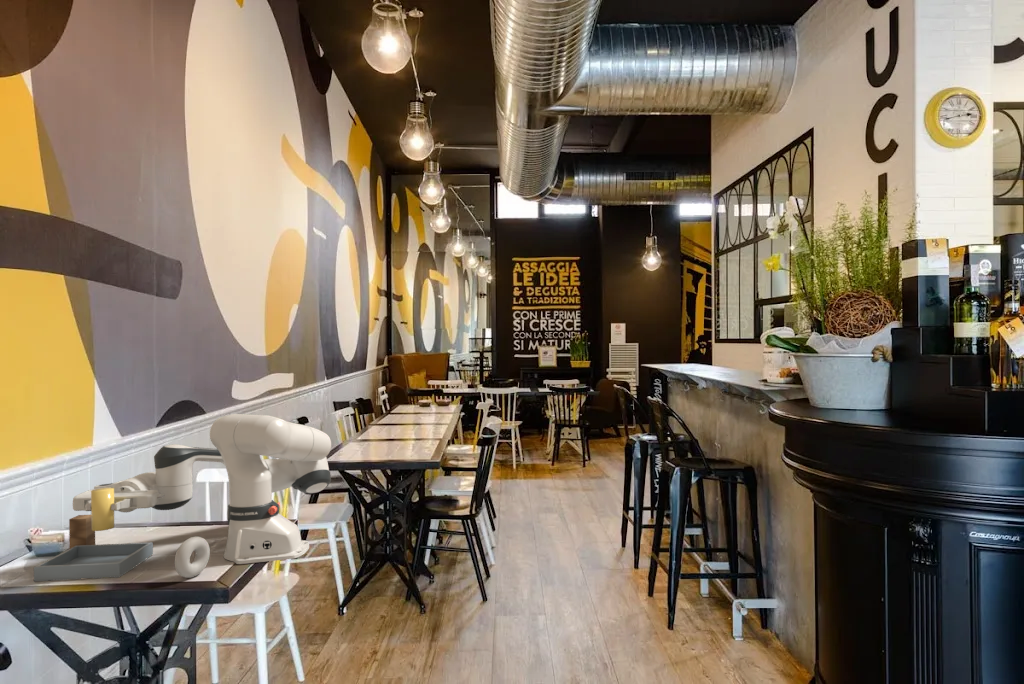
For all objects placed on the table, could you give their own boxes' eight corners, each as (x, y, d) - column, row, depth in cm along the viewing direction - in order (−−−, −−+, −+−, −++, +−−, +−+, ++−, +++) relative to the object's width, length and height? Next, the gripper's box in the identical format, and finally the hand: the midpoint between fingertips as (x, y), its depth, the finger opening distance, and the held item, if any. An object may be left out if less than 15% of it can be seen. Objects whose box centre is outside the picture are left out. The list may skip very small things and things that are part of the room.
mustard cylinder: (118, 525, 166) (117, 487, 166) (107, 530, 161) (107, 491, 161) (98, 525, 166) (98, 487, 166) (87, 531, 161) (86, 492, 161)
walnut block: (95, 548, 183) (95, 514, 183) (86, 553, 179) (85, 518, 179) (79, 549, 183) (78, 515, 183) (69, 554, 178) (69, 519, 179)
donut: (182, 584, 153) (181, 543, 154) (171, 583, 154) (170, 542, 155) (213, 570, 163) (212, 532, 163) (202, 569, 164) (202, 531, 164)
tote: (152, 554, 177) (152, 542, 177) (119, 577, 159) (119, 563, 159) (76, 558, 175) (76, 545, 175) (33, 581, 157) (33, 567, 157)
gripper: (167, 505, 177) (143, 518, 163) (91, 508, 175) (59, 521, 161) (167, 482, 177) (142, 493, 163) (90, 485, 175) (59, 496, 162)
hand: (100, 507), depth 162 cm, fingers closed on mustard cylinder, 5 cm apart
